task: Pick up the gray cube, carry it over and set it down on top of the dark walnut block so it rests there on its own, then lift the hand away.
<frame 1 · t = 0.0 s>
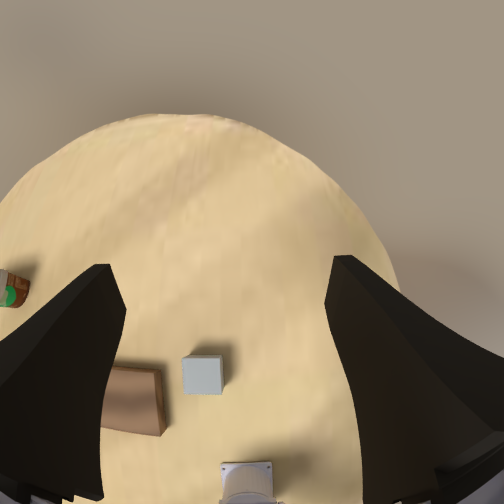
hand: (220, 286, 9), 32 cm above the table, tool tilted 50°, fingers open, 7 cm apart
food container: (16, 298, 38), on the table
walnut block: (134, 397, 36), on the table
gray cube: (206, 371, 37), on the table
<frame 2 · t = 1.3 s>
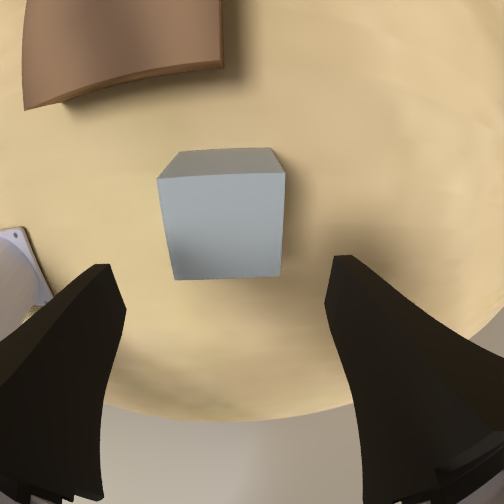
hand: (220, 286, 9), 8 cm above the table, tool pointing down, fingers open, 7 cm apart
walnut block: (133, 6, 9), on the table
gray cube: (226, 190, 16), on the table
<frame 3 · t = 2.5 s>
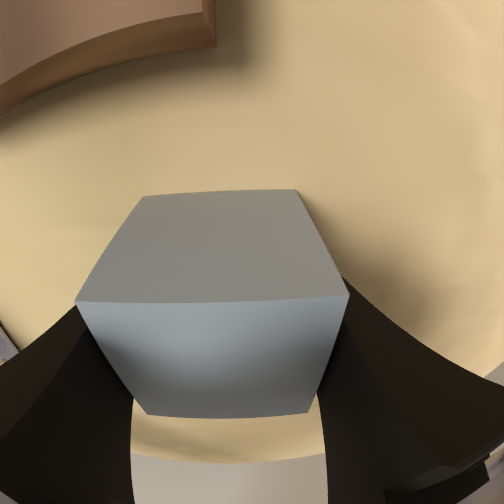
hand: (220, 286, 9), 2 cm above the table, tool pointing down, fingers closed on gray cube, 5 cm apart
gray cube: (221, 256, 10), on the table, touching gripper
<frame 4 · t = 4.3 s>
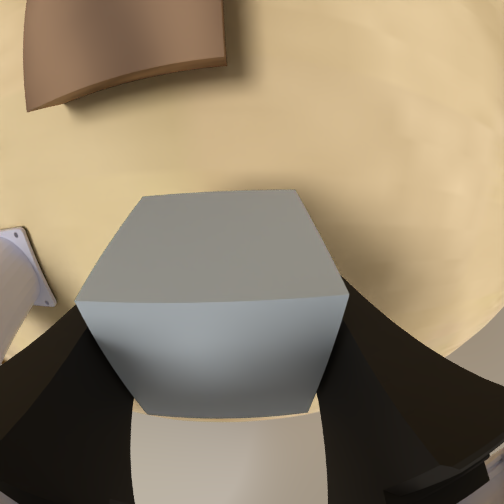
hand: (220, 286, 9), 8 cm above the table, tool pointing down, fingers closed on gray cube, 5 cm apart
walnut block: (133, 6, 9), on the table
gray cube: (221, 256, 10), point 7 cm above the table, touching gripper
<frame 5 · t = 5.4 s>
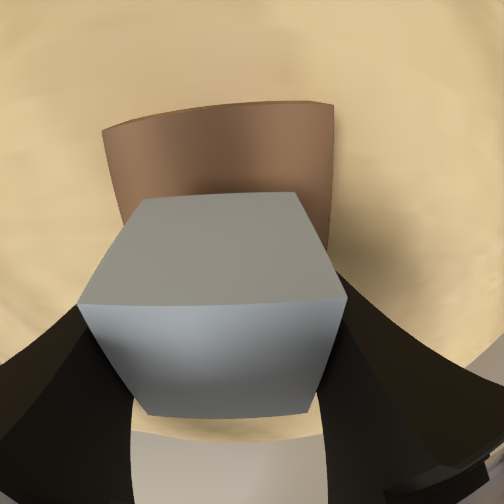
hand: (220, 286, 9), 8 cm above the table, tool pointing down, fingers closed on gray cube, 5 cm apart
walnut block: (226, 188, 16), on the table
gray cube: (221, 258, 10), point 7 cm above the table, touching gripper
when the fingers open (7 cm above the table, at t = 6.2 s): gray cube drops 2 cm, resting on walnut block.
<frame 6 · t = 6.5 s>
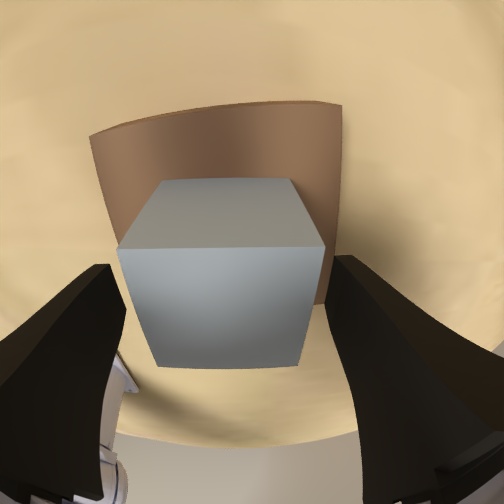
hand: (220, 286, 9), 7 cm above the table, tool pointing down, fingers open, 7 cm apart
walnut block: (225, 195, 15), on the table, touching gray cube
gray cube: (226, 233, 12), point 4 cm above the table, touching walnut block
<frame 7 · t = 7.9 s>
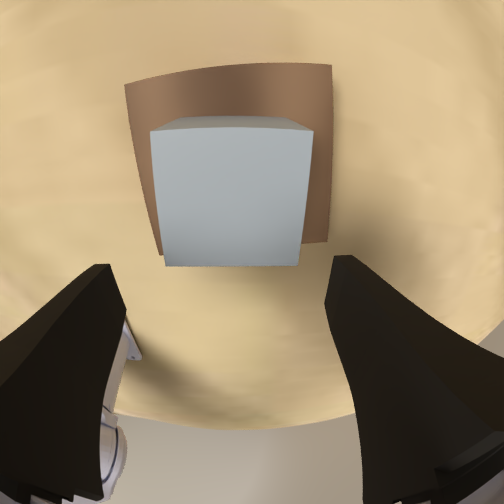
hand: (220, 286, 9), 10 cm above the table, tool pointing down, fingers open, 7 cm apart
walnut block: (235, 147, 16), on the table, touching gray cube
gray cube: (232, 165, 13), point 4 cm above the table, touching walnut block
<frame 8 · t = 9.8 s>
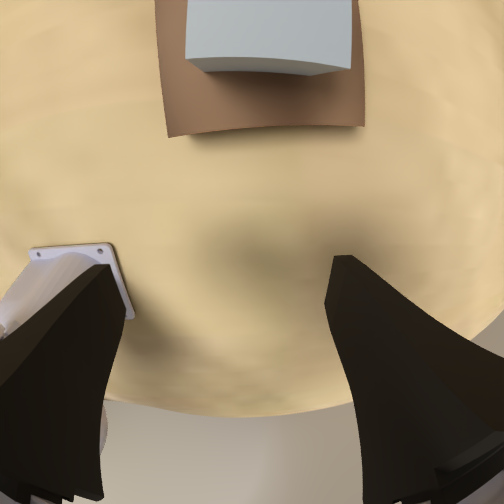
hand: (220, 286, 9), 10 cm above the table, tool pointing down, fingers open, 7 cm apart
walnut block: (256, 44, 13), on the table
gray cube: (259, 25, 9), point 4 cm above the table
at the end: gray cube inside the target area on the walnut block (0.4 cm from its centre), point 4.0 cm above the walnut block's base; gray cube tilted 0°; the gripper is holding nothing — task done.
